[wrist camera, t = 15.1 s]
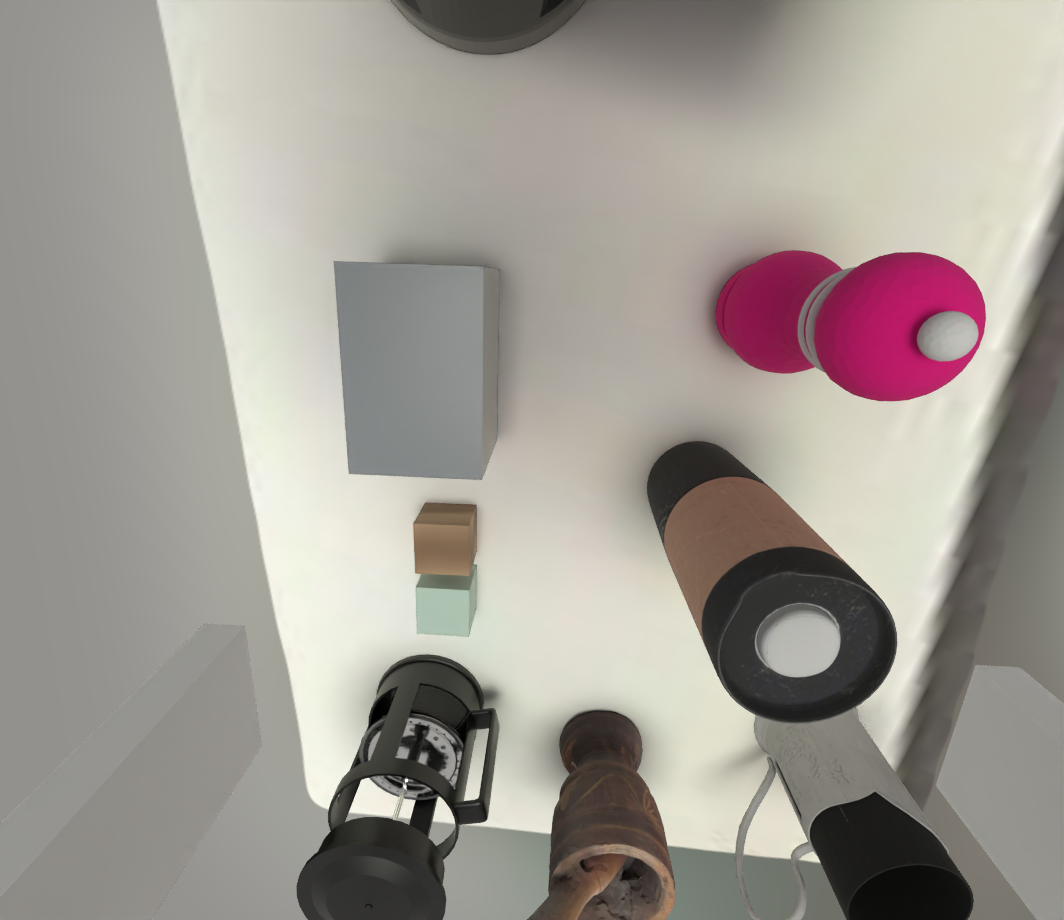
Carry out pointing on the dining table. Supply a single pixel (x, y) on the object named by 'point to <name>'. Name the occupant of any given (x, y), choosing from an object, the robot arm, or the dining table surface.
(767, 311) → the pepper mill
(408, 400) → the grey rectangular block
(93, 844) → the robot arm
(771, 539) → the travel mug
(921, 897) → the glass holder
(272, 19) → the dining table surface
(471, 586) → the sage block
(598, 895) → the mortar and pestle
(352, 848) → the french press
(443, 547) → the walnut block
